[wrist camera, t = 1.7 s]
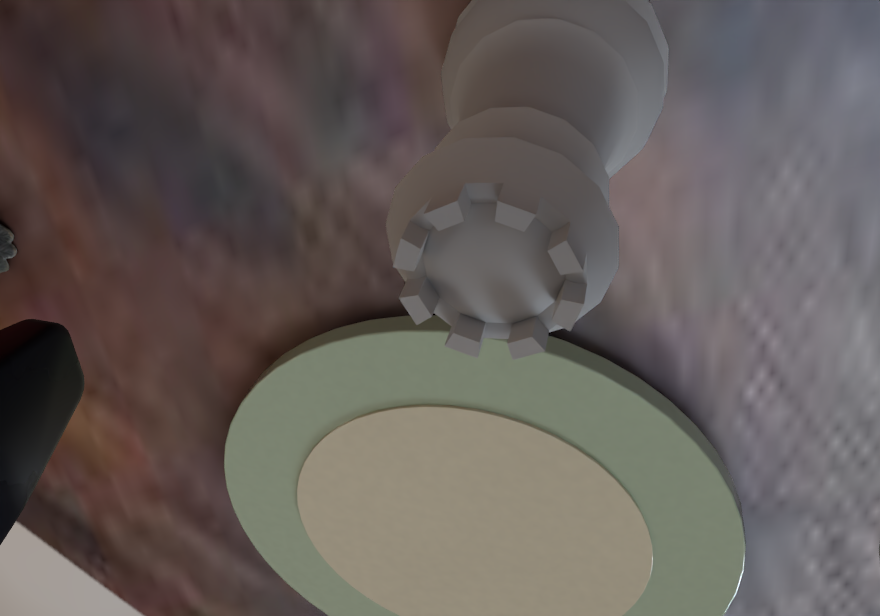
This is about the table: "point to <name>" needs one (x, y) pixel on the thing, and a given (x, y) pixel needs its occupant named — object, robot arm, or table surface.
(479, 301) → the rook chess piece
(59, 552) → the table surface
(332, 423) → the plate
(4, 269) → the eagle figurine
